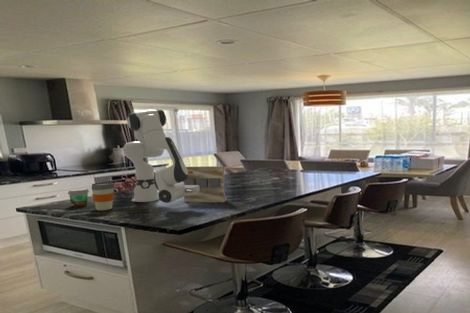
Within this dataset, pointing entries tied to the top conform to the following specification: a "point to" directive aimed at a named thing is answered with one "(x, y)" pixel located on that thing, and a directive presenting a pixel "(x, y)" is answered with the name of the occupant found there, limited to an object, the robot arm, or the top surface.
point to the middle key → (202, 182)
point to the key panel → (208, 192)
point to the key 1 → (190, 181)
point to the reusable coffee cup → (103, 195)
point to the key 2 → (215, 182)
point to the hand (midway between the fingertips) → (186, 186)
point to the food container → (78, 197)
